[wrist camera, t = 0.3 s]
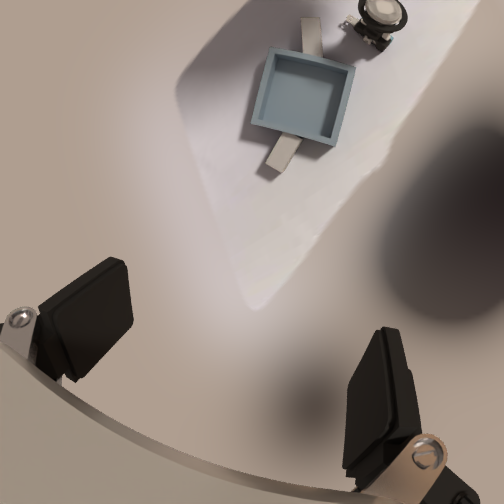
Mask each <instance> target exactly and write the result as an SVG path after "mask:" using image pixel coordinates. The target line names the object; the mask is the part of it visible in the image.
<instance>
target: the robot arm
mask: <svg viewBox="0 0 504 504" xmlns="http://www.w3.org/2000/svg"><path fill="white" fill-rule="evenodd" d="M38 308H39V311H40V314H39V315H38V316H37V313H36V311H35V310H34V309H33V308H30V307H20V308H17V309H15V310H13V311H12V312H11V313H10V314H9V315H8V316H7V318H6V320H5V323H1V324H0V504H480V499H479V496H478V494H477V493H476V492H475V491H474V490H473V489H472V488H471V487H469V486H468V485H467V484H466V483H465V482H464V481H462V480H461V479H460V478H459V477H458V476H457V475H456V474H455V473H453V472H452V471H451V470H450V469H449V468H448V467H447V466H445V464H446V462H447V456H448V453H447V449H446V446H445V445H444V443H443V442H442V441H441V440H440V439H439V438H438V437H436V436H434V435H432V434H422V429H421V421H420V415H419V408H418V402H417V396H416V391H415V386H414V380H413V375H412V372H411V370H409V369H408V366H407V362H406V357H405V353H404V348H403V344H402V341H401V336H400V332H399V330H398V329H394V328H389V327H382V328H381V330H376V331H375V333H374V335H373V337H372V339H371V341H370V343H369V345H368V347H367V349H366V351H365V353H364V355H363V357H362V359H361V361H360V363H359V365H358V367H357V368H356V370H355V372H354V374H353V376H352V378H351V380H350V382H349V384H348V389H347V413H346V429H345V443H344V453H343V465H342V467H343V469H347V470H346V477H351V478H356V480H355V484H356V487H355V488H354V489H353V490H352V491H351V492H345V491H338V490H331V489H323V488H316V487H308V486H303V485H297V484H291V483H286V482H281V481H277V480H271V479H268V478H263V477H259V476H254V475H251V474H247V473H243V472H240V471H236V470H232V469H229V468H226V467H223V466H220V465H217V464H213V463H210V462H208V461H205V460H202V459H199V458H196V457H194V456H191V455H188V454H186V453H183V452H181V451H178V450H176V449H174V448H171V447H169V446H166V445H164V444H162V443H160V442H158V441H155V440H153V439H151V438H149V437H146V436H145V435H143V434H141V433H139V432H136V431H134V430H133V429H131V428H129V427H127V426H125V425H123V424H121V423H119V422H118V421H116V420H114V419H112V418H110V417H109V416H107V415H105V414H104V413H102V412H100V411H99V410H97V409H95V408H94V407H92V406H90V405H89V404H87V403H86V402H84V401H83V400H81V399H80V398H78V397H76V396H75V395H73V394H72V393H70V392H69V391H68V390H66V389H65V388H64V387H62V386H61V384H62V375H63V374H64V373H65V375H66V377H67V378H69V379H70V380H72V381H73V382H75V383H76V382H77V381H78V379H80V378H83V377H85V376H86V374H87V373H88V372H89V371H90V370H91V369H92V368H93V367H94V366H95V365H96V364H97V363H98V361H99V360H100V359H101V358H102V357H103V356H104V355H105V354H106V353H107V352H108V351H109V350H110V349H111V348H112V347H113V345H114V344H115V343H116V342H117V341H118V340H119V339H120V338H121V337H122V336H123V335H124V334H125V333H126V332H127V331H128V330H129V328H131V326H132V325H133V321H134V318H133V313H132V305H131V297H130V289H129V280H128V270H127V266H126V265H125V263H124V261H123V260H120V259H117V258H114V257H109V258H107V259H105V260H104V261H102V262H101V263H99V264H98V265H96V266H95V267H93V268H92V269H90V270H89V271H87V272H86V273H84V274H83V275H81V276H80V277H79V278H77V279H76V280H74V281H73V282H71V283H70V284H68V285H67V286H66V287H64V288H63V289H61V290H60V291H58V292H57V293H56V294H54V295H53V296H52V297H50V298H49V299H47V300H46V301H45V302H43V303H42V304H41V305H39V306H38Z"/></svg>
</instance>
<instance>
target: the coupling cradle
mask: <svg viewBox="0 0 504 504" xmlns="http://www.w3.org/2000/svg"><path fill="white" fill-rule="evenodd" d="M301 30H302V45H303V53H301V52H296V51H291V50H286V49H280V48H274V47H270V48H269V52H268V56H267V60H266V63H265V67H264V71H263V75H262V79H261V83H260V87H259V91H258V95H257V99H256V103H255V107H254V111H253V115H252V119H251V123H250V124H254V125H258V126H262V127H267V128H271V129H275V130H279V131H283V133H282V135H281V136H280V138H279V140H278V142H277V143H276V145H275V147H274V149H273V150H272V152H271V154H270V156H269V157H268V159H267V161H266V164H267V165H269V166H271V167H272V168H274V169H276V170H278V171H279V172H281V173H282V172H284V171H285V169H286V168H287V166H288V164H289V162H290V161H291V159H292V157H293V156H294V154H295V152H296V151H297V149H298V147H299V146H300V144H301V142H302V140H303V139H302V138H301V137H305V138H308V139H312V140H315V141H318V142H321V143H325V144H328V145H331V146H334V147H336V143H337V139H338V136H339V132H340V129H341V125H342V121H343V118H344V114H345V110H346V106H347V102H348V98H349V95H350V91H351V87H352V83H353V78H354V74H355V70H356V67H354V66H351V65H347V64H344V63H341V62H337V61H333V60H330V59H326V58H323V49H322V36H321V25H320V17H301ZM297 135H298V136H297ZM299 136H301V137H299Z"/></svg>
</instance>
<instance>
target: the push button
mask: <svg viewBox="0 0 504 504" xmlns="http://www.w3.org/2000/svg"><path fill="white" fill-rule="evenodd" d="M364 6H365V7H366V10H364ZM358 10H359V13H360V15H361V17H362V18H361V19H360V20H359V19H358V18H357V19H356V18H354V17H353V16H351V15H348V16H347V17H346V18H347V19H346V21H348V22H349V23H351V24H352V26H354V30H355V31H357V32H358V33H359V34H361V35H362V36H364V39H363V40H364V41H365V42H366V43H367V44H369V45H370V44H371V42H372V43H373V44H375V45H376V48H377V49H378V50H379V51H380V52H383V51H384V50H385V49H386V48H387V47H388V45H389V44H390V43H391V42H392V40H393V37H392V36H391V35H390V33H393V32H396V31H399V30H401V29H402V28H403V27H404V26H405V25H406V23H407V19H408V16H407V12H406V10H405V8H404V7H403V5H402V4H401V3H400V2H399V1H398V0H359V3H358ZM350 17H352V18H353V19H352V18H350ZM349 20H350V21H352V22H350V21H349ZM398 22H399V24H398V25H396V23H398ZM367 41H368V42H367Z"/></svg>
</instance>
